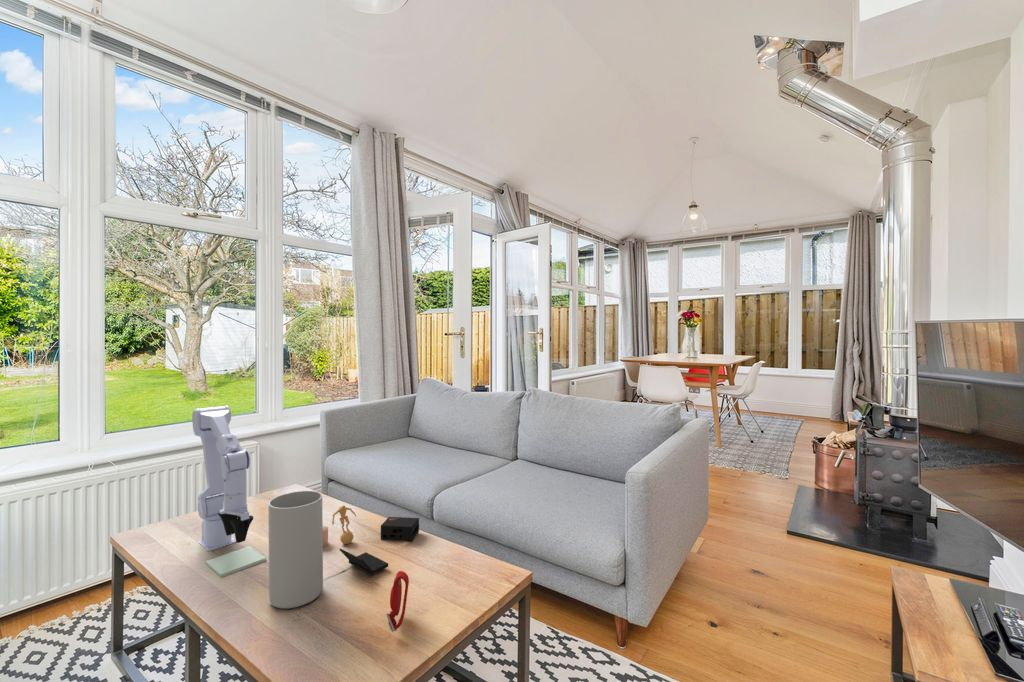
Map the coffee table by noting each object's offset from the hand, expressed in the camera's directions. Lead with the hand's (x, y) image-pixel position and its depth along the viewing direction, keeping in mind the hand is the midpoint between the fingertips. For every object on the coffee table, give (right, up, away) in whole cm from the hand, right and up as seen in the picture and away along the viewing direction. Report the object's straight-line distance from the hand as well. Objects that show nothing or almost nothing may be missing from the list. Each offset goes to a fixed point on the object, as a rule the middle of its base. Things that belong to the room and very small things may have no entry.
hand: (235, 537), depth 131 cm
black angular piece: (+41, -8, -1) cm, 42 cm away
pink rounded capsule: (+20, -7, +11) cm, 24 cm away
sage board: (0, -7, 0) cm, 7 cm away
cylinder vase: (+26, -8, -17) cm, 32 cm away
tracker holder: (+55, -8, -27) cm, 62 cm away
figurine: (+28, -7, +13) cm, 31 cm away
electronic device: (+44, -8, +18) cm, 48 cm away
